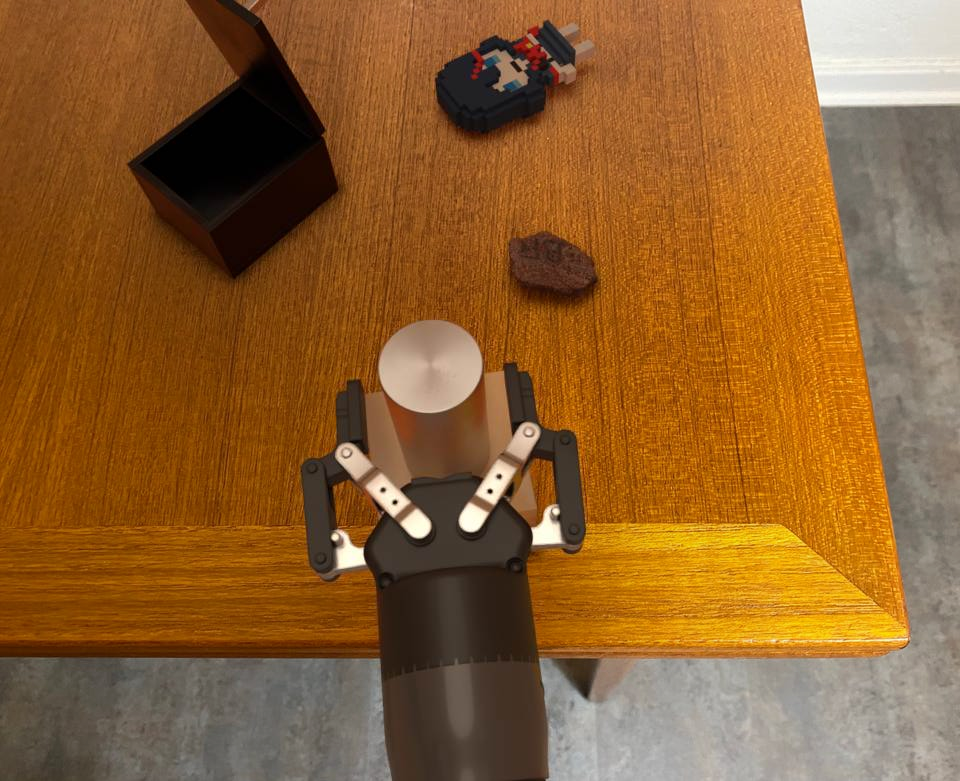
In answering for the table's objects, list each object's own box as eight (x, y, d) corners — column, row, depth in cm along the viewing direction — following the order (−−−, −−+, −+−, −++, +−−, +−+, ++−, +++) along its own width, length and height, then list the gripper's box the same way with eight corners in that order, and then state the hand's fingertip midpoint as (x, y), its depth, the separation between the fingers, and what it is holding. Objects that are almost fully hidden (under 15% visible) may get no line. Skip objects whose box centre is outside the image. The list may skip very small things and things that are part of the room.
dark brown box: (233, 279, 75) (208, 232, 69) (156, 214, 79) (126, 163, 73) (339, 189, 79) (324, 137, 73) (261, 131, 83) (241, 76, 76)
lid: (253, 26, 60) (303, -25, 61) (156, -42, 63) (204, -89, 64) (320, 137, 73) (360, 94, 73) (236, 75, 76) (275, 35, 77)
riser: (399, 575, 64) (380, 536, 55) (382, 449, 68) (362, 394, 59) (534, 551, 64) (537, 508, 55) (509, 427, 69) (508, 369, 60)
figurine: (612, 52, 79) (469, 122, 77) (608, 87, 83) (472, 155, 80) (559, -5, 83) (420, 59, 80) (557, 31, 87) (424, 94, 84)
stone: (504, 246, 76) (504, 224, 73) (588, 237, 76) (591, 215, 73) (513, 312, 73) (513, 292, 70) (600, 303, 73) (604, 283, 70)
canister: (410, 497, 56) (384, 421, 45) (398, 417, 58) (371, 328, 47) (496, 482, 56) (491, 403, 45) (481, 403, 58) (473, 310, 48)
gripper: (620, 652, 38) (564, 328, 45) (292, 691, 38) (287, 359, 45) (604, 676, 45) (558, 391, 52) (326, 709, 45) (317, 418, 52)
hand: (432, 377), depth 48 cm, fingers open, 8 cm apart
